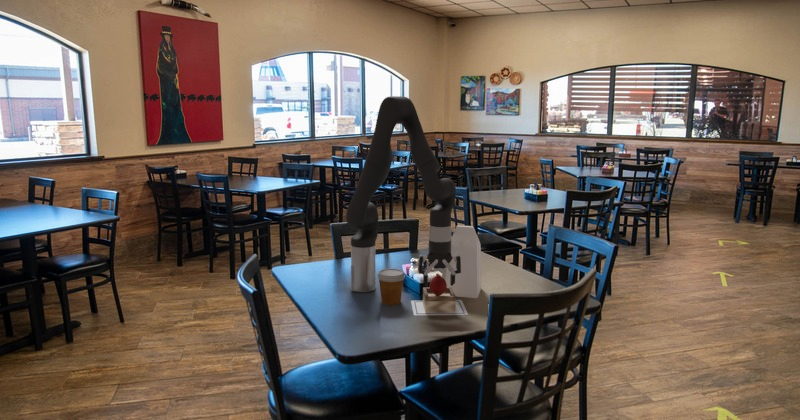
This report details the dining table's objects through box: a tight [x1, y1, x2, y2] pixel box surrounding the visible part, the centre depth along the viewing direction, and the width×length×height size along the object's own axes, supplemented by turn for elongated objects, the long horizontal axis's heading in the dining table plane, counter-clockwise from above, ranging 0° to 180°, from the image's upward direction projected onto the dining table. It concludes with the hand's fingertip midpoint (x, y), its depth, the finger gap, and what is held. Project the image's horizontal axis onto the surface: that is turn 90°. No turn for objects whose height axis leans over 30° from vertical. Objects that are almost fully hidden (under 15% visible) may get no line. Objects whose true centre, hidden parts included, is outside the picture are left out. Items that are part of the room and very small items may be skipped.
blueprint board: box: [410, 299, 469, 316], centre depth 188 cm, size 18×14×1 cm
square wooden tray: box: [422, 286, 457, 313], centre depth 187 cm, size 10×10×6 cm
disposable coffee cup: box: [377, 268, 406, 306], centre depth 192 cm, size 10×10×12 cm
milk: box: [445, 225, 482, 299], centre depth 202 cm, size 12×12×26 cm
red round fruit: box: [428, 273, 447, 296], centre depth 187 cm, size 6×6×8 cm
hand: (439, 285), depth 187 cm, fingers open, 8 cm apart
